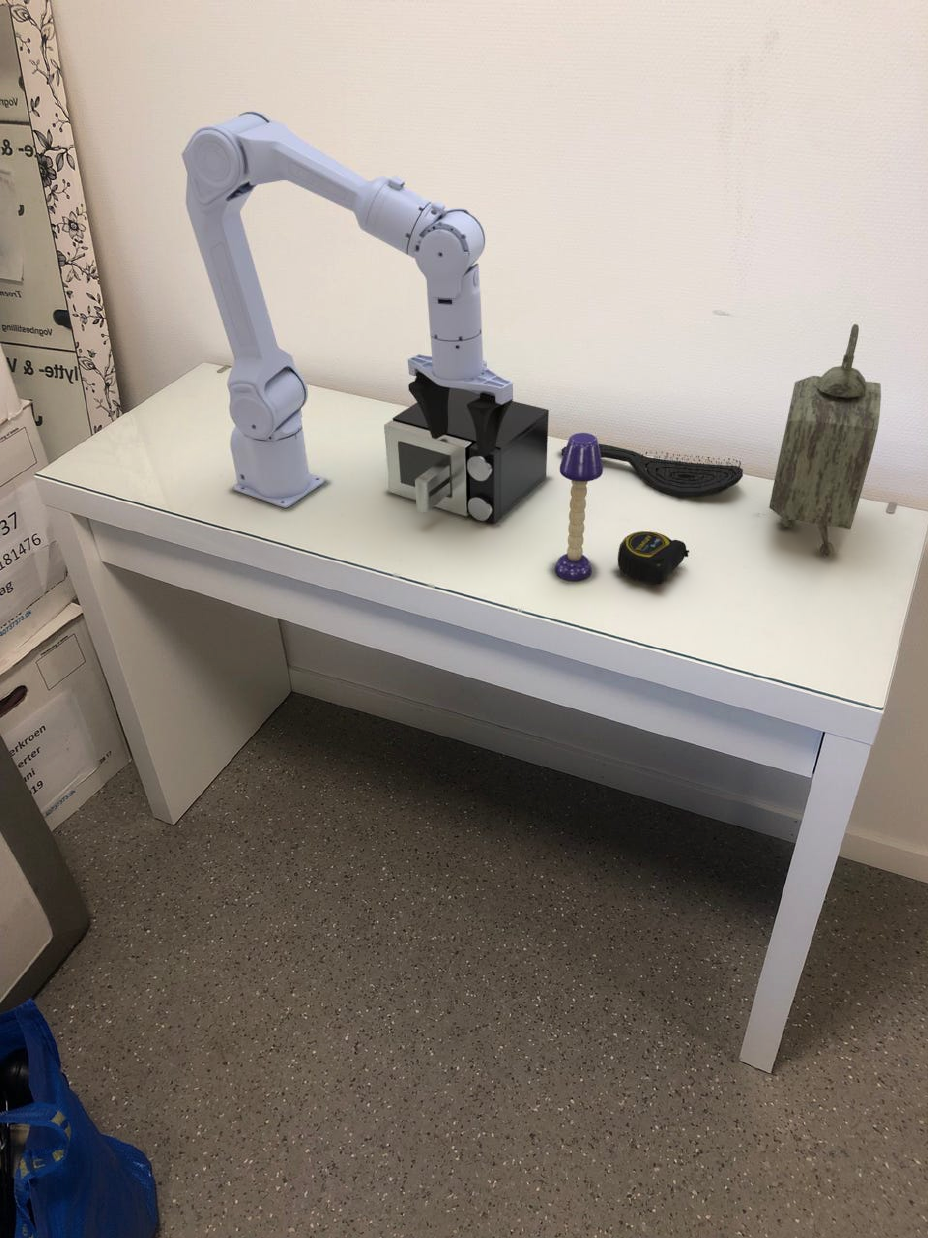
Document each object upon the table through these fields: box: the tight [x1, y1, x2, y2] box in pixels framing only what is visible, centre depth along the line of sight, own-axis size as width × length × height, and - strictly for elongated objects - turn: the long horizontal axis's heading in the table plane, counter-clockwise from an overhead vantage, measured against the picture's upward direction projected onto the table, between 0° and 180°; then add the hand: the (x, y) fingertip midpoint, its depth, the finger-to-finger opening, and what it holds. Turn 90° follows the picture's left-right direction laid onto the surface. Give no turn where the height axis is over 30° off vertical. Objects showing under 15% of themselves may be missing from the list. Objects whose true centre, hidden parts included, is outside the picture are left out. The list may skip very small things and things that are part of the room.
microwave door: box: [383, 419, 472, 517], centre depth 114 cm, size 7×12×10 cm, turn 57°
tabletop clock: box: [768, 323, 882, 557], centre depth 104 cm, size 14×9×25 cm, turn 160°
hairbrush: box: [561, 442, 744, 498], centre depth 123 cm, size 8×4×25 cm
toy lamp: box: [554, 432, 604, 581], centre depth 101 cm, size 5×5×17 cm
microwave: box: [392, 387, 550, 525], centre depth 119 cm, size 14×16×10 cm
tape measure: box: [617, 530, 690, 586], centre depth 105 cm, size 7×7×4 cm
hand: (462, 444), depth 109 cm, fingers open, 7 cm apart
